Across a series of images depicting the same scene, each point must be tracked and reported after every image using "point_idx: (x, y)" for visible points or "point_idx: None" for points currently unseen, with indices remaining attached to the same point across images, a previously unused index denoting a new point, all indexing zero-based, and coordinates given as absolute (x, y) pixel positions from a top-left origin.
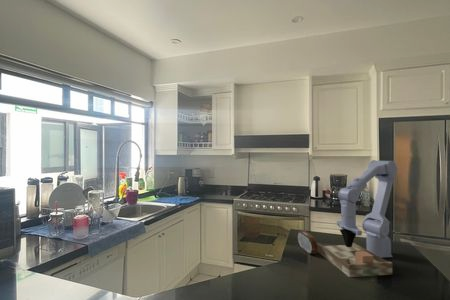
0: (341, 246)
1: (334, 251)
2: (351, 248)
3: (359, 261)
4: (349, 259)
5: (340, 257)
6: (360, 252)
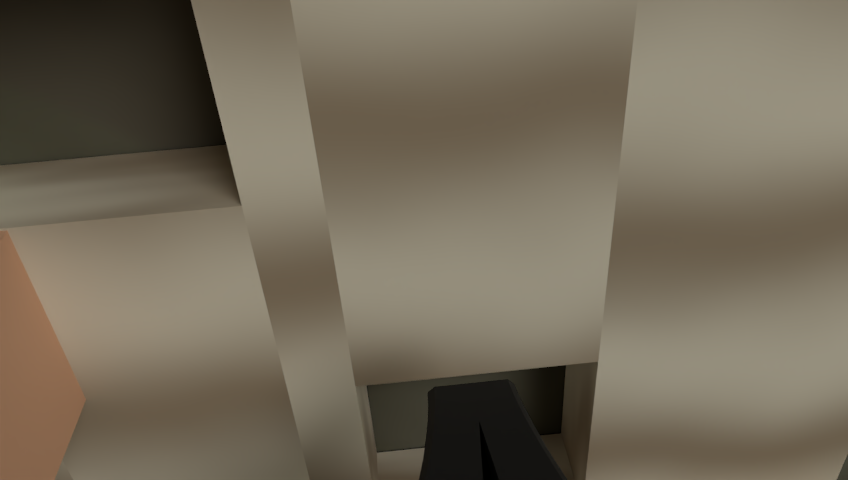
0: (839, 334)
1: (649, 74)
2: (695, 438)
3: None
4: (209, 201)
5: (275, 45)
6: None
